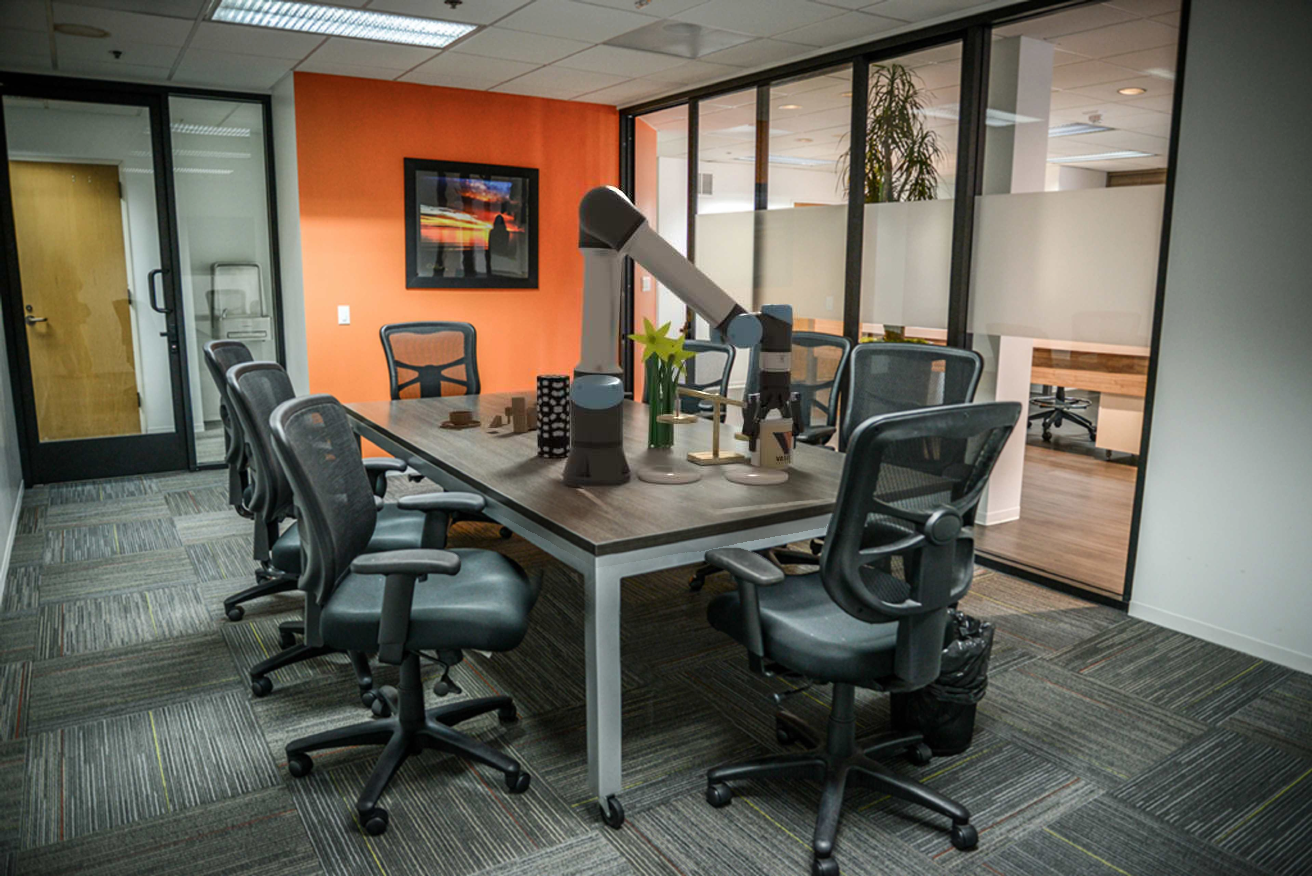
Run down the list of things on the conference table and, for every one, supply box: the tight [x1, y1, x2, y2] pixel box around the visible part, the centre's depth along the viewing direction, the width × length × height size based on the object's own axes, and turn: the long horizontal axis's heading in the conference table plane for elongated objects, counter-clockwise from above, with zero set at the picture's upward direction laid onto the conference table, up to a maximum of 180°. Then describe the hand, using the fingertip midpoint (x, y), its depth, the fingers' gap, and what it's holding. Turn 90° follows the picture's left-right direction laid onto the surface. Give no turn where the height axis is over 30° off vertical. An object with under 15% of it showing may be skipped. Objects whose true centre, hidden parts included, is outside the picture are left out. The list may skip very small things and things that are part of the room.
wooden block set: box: [488, 396, 537, 434], centre depth 264 cm, size 18×9×10 cm, turn 131°
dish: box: [725, 467, 789, 486], centre depth 202 cm, size 14×14×1 cm
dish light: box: [638, 466, 701, 485], centre depth 202 cm, size 14×14×1 cm
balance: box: [657, 386, 757, 466], centre depth 221 cm, size 31×10×19 cm, turn 114°
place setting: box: [441, 406, 513, 431], centre depth 272 cm, size 18×20×6 cm
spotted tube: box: [536, 374, 571, 458], centre depth 226 cm, size 8×8×20 cm
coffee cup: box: [754, 414, 793, 471], centre depth 214 cm, size 9×9×12 cm
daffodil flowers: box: [627, 316, 699, 449], centre depth 236 cm, size 17×15×35 cm
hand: (772, 463), depth 215 cm, fingers closed on coffee cup, 8 cm apart
